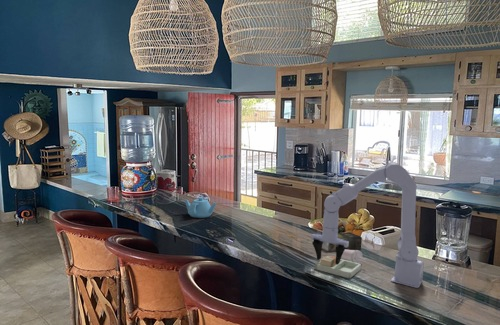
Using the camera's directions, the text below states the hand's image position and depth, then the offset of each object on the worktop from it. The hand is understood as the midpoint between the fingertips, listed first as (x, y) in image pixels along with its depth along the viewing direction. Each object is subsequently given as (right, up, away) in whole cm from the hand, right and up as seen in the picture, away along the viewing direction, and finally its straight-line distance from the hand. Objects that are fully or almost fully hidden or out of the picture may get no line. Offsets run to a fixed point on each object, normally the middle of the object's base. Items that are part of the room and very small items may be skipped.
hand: (328, 261), depth 150 cm
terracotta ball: (+3, -3, +4) cm, 6 cm away
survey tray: (+4, -4, +1) cm, 6 cm away
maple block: (0, -3, 0) cm, 3 cm away
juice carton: (+10, -2, +30) cm, 32 cm away
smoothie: (+7, 0, +14) cm, 16 cm away
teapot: (-59, +7, +79) cm, 99 cm away
